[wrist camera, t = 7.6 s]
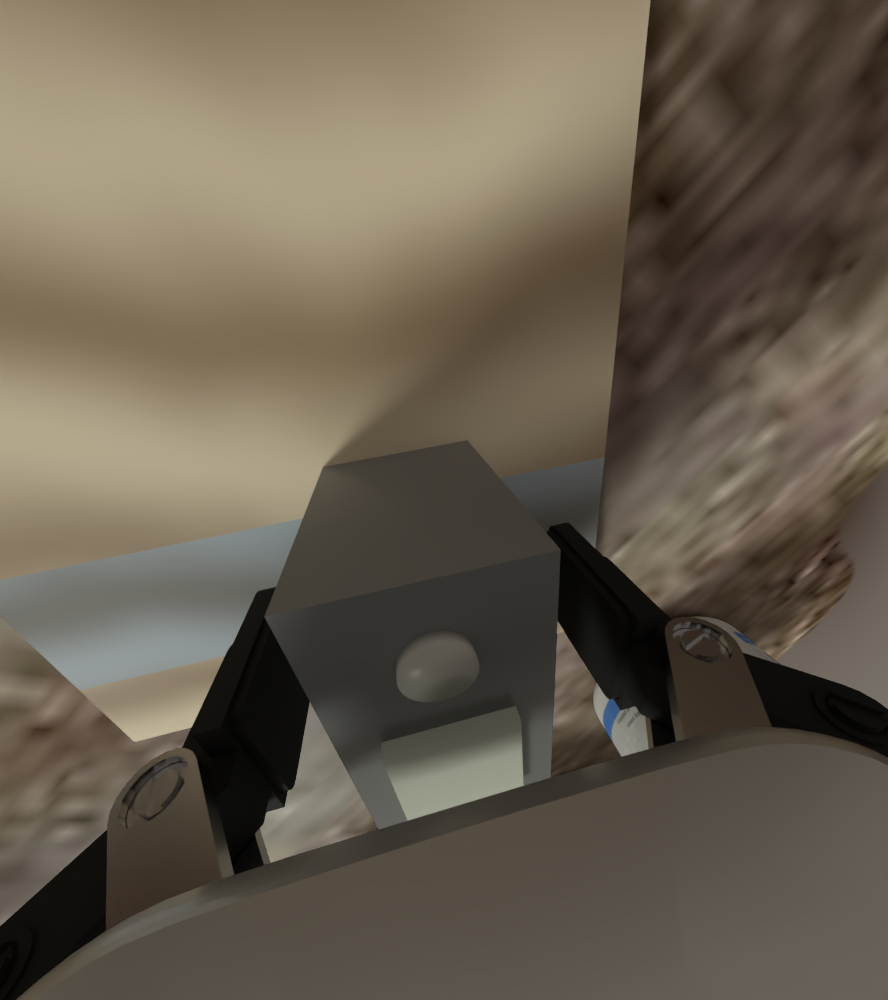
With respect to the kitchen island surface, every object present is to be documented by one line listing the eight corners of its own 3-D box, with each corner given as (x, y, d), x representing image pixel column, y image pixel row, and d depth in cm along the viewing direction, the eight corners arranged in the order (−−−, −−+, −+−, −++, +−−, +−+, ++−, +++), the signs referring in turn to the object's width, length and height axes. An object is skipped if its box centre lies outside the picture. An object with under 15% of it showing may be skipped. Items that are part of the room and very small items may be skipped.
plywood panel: (-524, -1, 5) (-747, -84, 4) (620, -47, 7) (661, -111, 6) (151, 712, 15) (134, 741, 14) (574, 607, 17) (587, 625, 16)
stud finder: (322, 467, 10) (257, 633, 4) (467, 439, 10) (570, 561, 5) (380, 644, 14) (384, 856, 8) (485, 619, 14) (555, 803, 9)
